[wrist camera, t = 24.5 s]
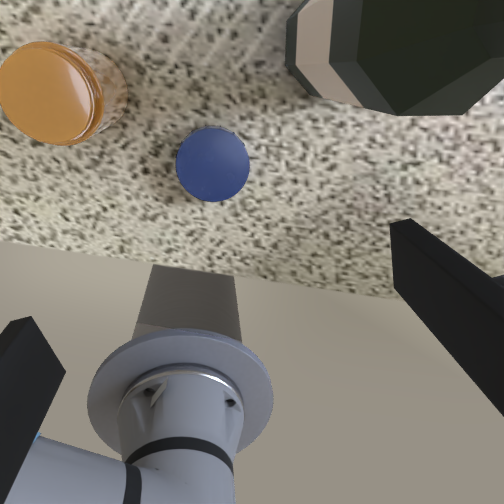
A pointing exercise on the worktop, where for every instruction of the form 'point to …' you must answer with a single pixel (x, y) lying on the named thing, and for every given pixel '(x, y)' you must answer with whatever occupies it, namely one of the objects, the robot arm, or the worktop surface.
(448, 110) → the wine bottle
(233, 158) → the jam lid
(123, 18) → the worktop surface
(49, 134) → the jam jar
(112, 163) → the worktop surface
